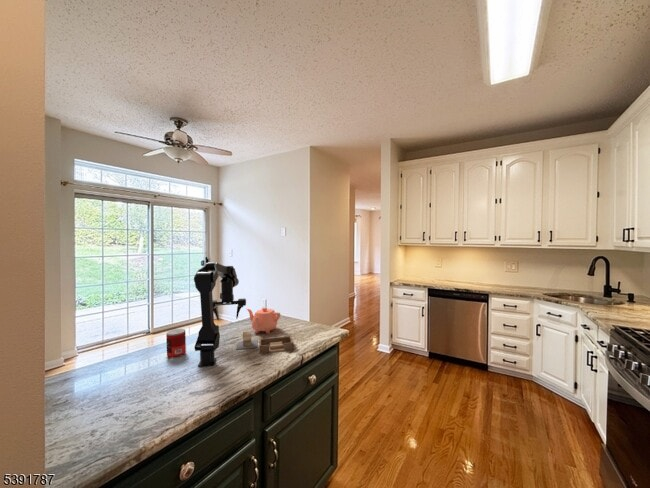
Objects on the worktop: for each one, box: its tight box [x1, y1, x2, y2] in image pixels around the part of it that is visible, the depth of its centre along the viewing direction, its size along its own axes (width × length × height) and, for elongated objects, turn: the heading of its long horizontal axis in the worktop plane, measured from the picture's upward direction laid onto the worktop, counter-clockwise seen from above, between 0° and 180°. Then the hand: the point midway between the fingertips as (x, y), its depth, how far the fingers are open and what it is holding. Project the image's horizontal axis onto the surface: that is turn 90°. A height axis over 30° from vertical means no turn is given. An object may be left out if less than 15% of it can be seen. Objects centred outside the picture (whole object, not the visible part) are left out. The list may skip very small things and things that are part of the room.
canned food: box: [165, 328, 187, 359], centre depth 128 cm, size 8×8×11 cm
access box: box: [258, 335, 295, 355], centre depth 134 cm, size 10×16×4 cm, turn 104°
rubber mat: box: [235, 339, 259, 351], centre depth 138 cm, size 10×10×1 cm
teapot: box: [246, 307, 281, 334], centre depth 161 cm, size 16×17×14 cm
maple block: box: [242, 330, 252, 346], centre depth 138 cm, size 4×4×6 cm
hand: (227, 319), depth 143 cm, fingers open, 9 cm apart
